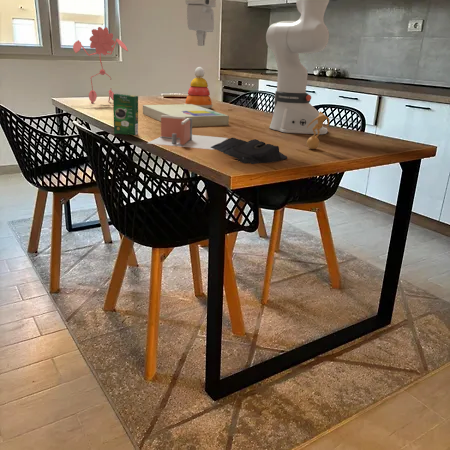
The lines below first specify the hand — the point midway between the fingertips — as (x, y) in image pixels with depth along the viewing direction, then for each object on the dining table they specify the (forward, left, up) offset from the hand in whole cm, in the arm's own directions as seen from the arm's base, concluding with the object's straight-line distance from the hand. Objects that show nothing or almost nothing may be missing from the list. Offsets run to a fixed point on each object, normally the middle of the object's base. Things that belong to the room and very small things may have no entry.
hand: (201, 45), depth 155 cm
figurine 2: (-42, +14, -29) cm, 53 cm away
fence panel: (-2, +24, -28) cm, 37 cm away
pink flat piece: (+2, +19, -28) cm, 34 cm away
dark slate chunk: (-23, +30, -30) cm, 48 cm away
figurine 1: (+63, -53, -29) cm, 87 cm away
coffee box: (+20, +18, -29) cm, 40 cm away
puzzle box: (+14, -25, -30) cm, 42 cm away
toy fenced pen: (-2, +20, -29) cm, 35 cm away
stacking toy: (+18, -63, -29) cm, 72 cm away
